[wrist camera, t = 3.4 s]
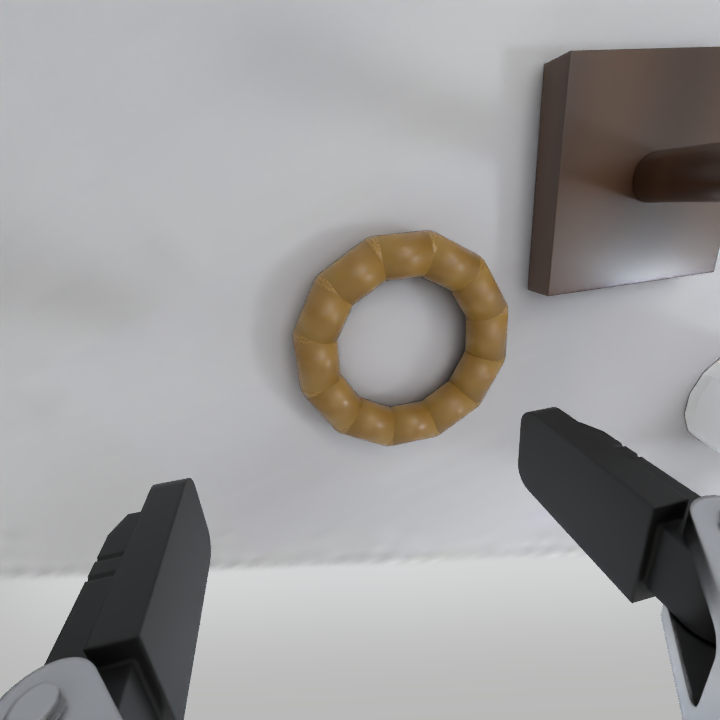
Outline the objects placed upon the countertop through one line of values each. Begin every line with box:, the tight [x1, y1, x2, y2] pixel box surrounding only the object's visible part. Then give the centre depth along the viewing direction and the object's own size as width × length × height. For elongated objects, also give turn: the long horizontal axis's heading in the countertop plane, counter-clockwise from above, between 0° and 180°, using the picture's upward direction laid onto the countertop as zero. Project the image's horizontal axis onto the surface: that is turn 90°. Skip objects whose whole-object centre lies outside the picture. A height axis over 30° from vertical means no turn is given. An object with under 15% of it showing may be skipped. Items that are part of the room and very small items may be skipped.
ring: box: [293, 230, 508, 446], centre depth 18 cm, size 10×10×2 cm
